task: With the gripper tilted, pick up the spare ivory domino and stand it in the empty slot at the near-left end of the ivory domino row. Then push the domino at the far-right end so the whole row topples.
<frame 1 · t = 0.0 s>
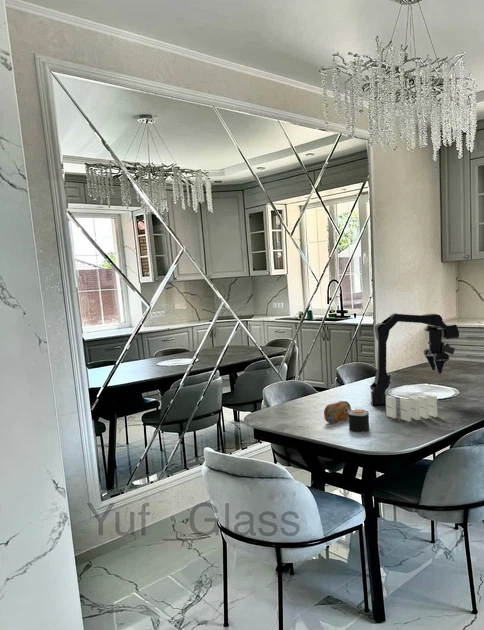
hand: (436, 371, 233), 15 cm above the table, tool pointing down, fingers open, 9 cm apart
domino 4: (406, 419, 208), on the table
domino 1: (432, 415, 212), on the table
sushi: (359, 429, 199), on the table
domino 3: (414, 418, 210), on the table
domino 2: (423, 417, 211), on the table
tin: (337, 421, 213), on the table
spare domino: (391, 416, 214), on the table
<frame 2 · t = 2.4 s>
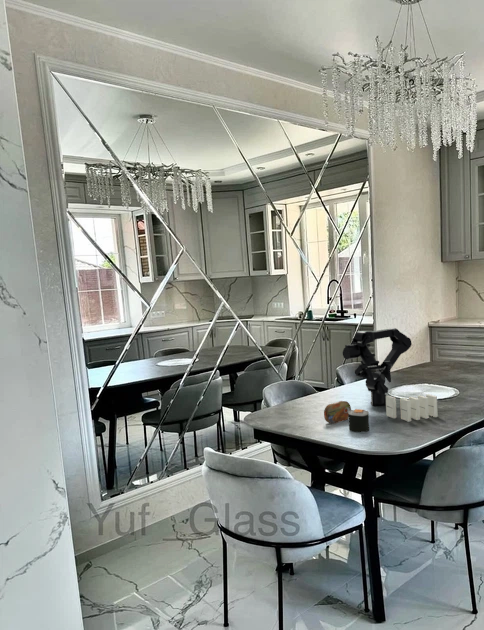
hand: (382, 383, 220), 14 cm above the table, tool tilted 45°, fingers open, 9 cm apart
nothing on the table moved.
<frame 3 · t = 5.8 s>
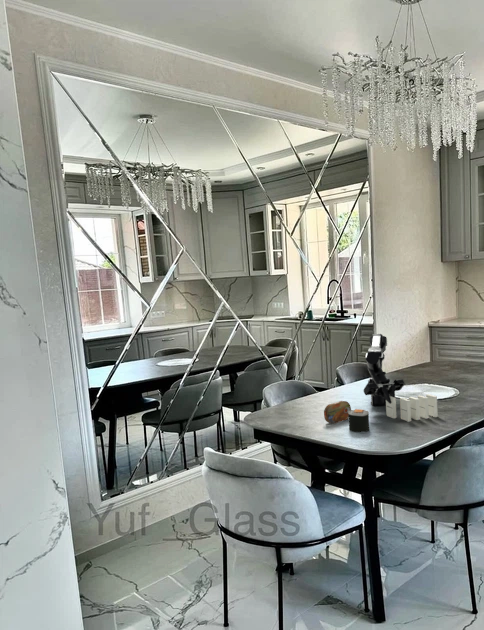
hand: (392, 402, 212), 7 cm above the table, tool tilted 45°, fingers closed on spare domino, 2 cm apart
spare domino: (391, 416, 214), on the table, touching gripper
everything else where it was.
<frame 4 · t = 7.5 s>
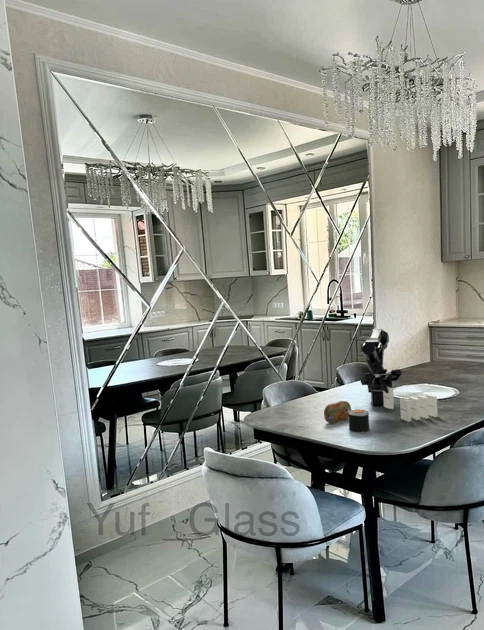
hand: (389, 392, 211), 12 cm above the table, tool tilted 45°, fingers closed on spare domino
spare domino: (388, 407, 212), point 5 cm above the table, touching gripper
everything else where it was.
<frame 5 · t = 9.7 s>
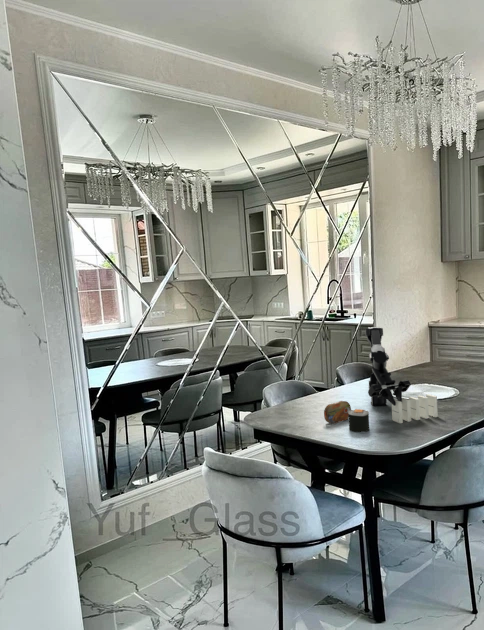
hand: (398, 404, 205), 8 cm above the table, tool tilted 45°, fingers open, 3 cm apart
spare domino: (397, 421, 207), on the table
everything else where it was.
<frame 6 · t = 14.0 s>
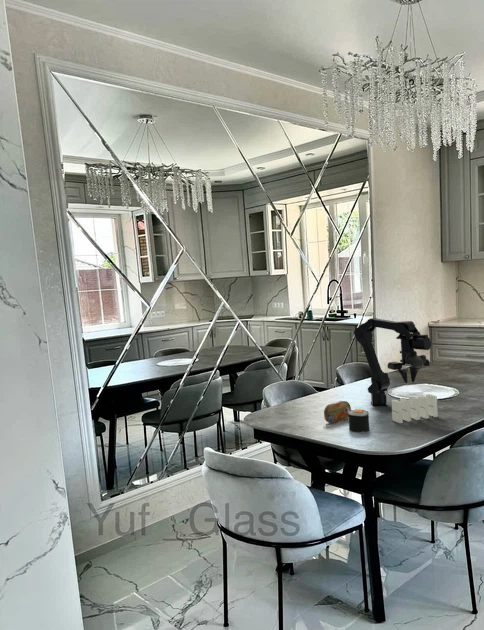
hand: (409, 382, 221), 13 cm above the table, tool pointing down, fingers open, 3 cm apart
nothing on the table moved.
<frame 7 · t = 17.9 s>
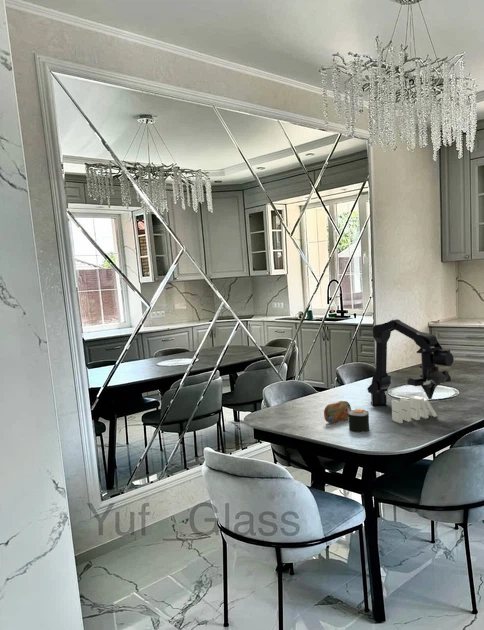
hand: (429, 399, 212), 7 cm above the table, tool pointing down, fingers closed
domino 1: (431, 414, 212), on the table, tilted 32°
domino 2: (423, 416, 211), on the table, tilted 15°
everything else where it was.
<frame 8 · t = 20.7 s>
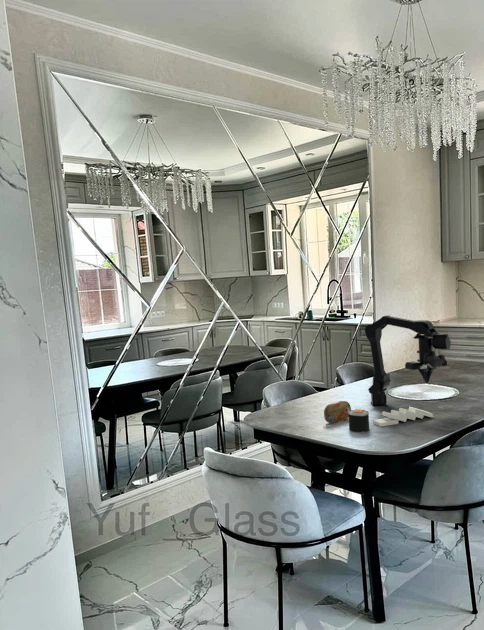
hand: (426, 382, 219), 13 cm above the table, tool pointing down, fingers closed
domino 4: (402, 418, 207), point 1 cm above the table, tilted 69°, touching domino 3, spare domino
domino 1: (429, 414, 212), point 1 cm above the table, tilted 69°, touching domino 2
domino 3: (411, 417, 209), point 1 cm above the table, tilted 69°, touching domino 2, domino 4
domino 2: (419, 415, 211), point 1 cm above the table, tilted 68°, touching domino 1, domino 3
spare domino: (394, 420, 206), point 1 cm above the table, tilted 90°, touching domino 4
everything else where it was.
at the end: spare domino inside the target area (1.4 cm from its centre), point 0.6 cm above the table; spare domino tilted 90°; domino 4 tilted 69° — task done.
